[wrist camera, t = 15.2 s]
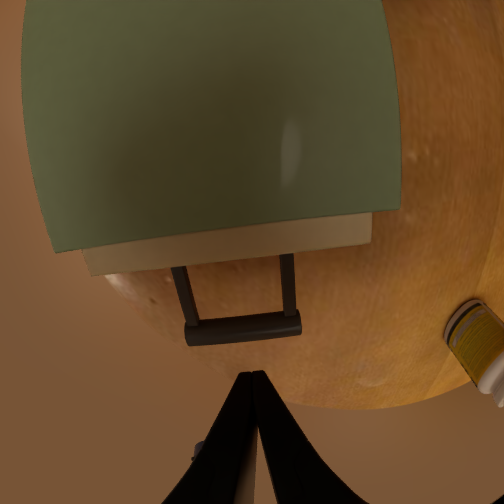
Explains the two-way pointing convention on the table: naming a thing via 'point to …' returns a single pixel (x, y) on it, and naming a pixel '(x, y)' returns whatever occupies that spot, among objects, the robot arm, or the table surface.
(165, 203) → the cabinet
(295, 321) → the drawer
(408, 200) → the table surface
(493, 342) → the pill bottle
